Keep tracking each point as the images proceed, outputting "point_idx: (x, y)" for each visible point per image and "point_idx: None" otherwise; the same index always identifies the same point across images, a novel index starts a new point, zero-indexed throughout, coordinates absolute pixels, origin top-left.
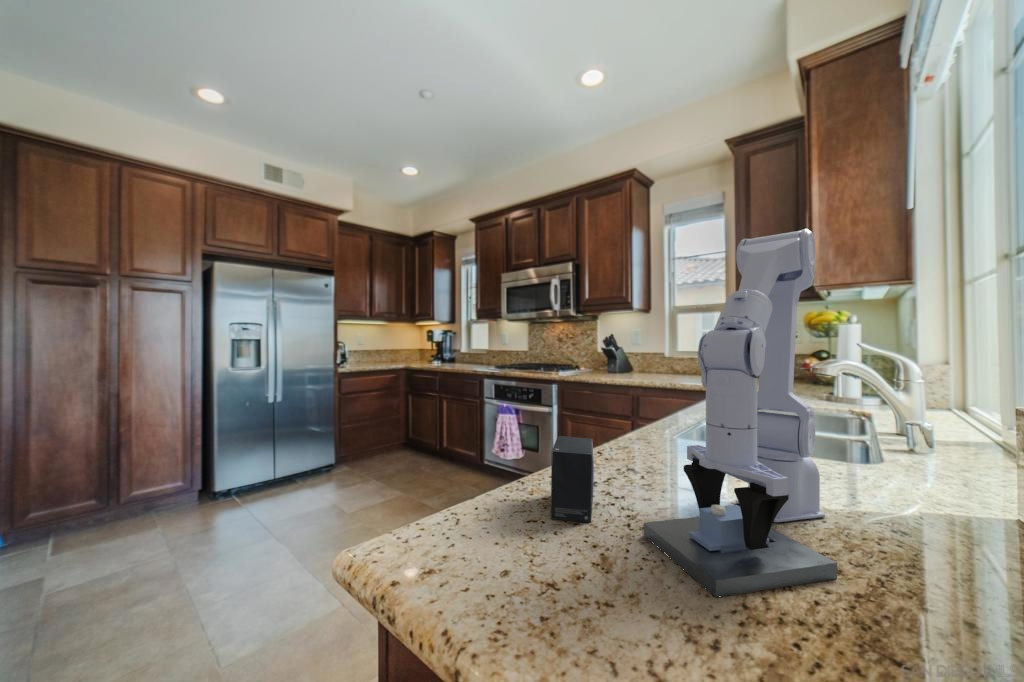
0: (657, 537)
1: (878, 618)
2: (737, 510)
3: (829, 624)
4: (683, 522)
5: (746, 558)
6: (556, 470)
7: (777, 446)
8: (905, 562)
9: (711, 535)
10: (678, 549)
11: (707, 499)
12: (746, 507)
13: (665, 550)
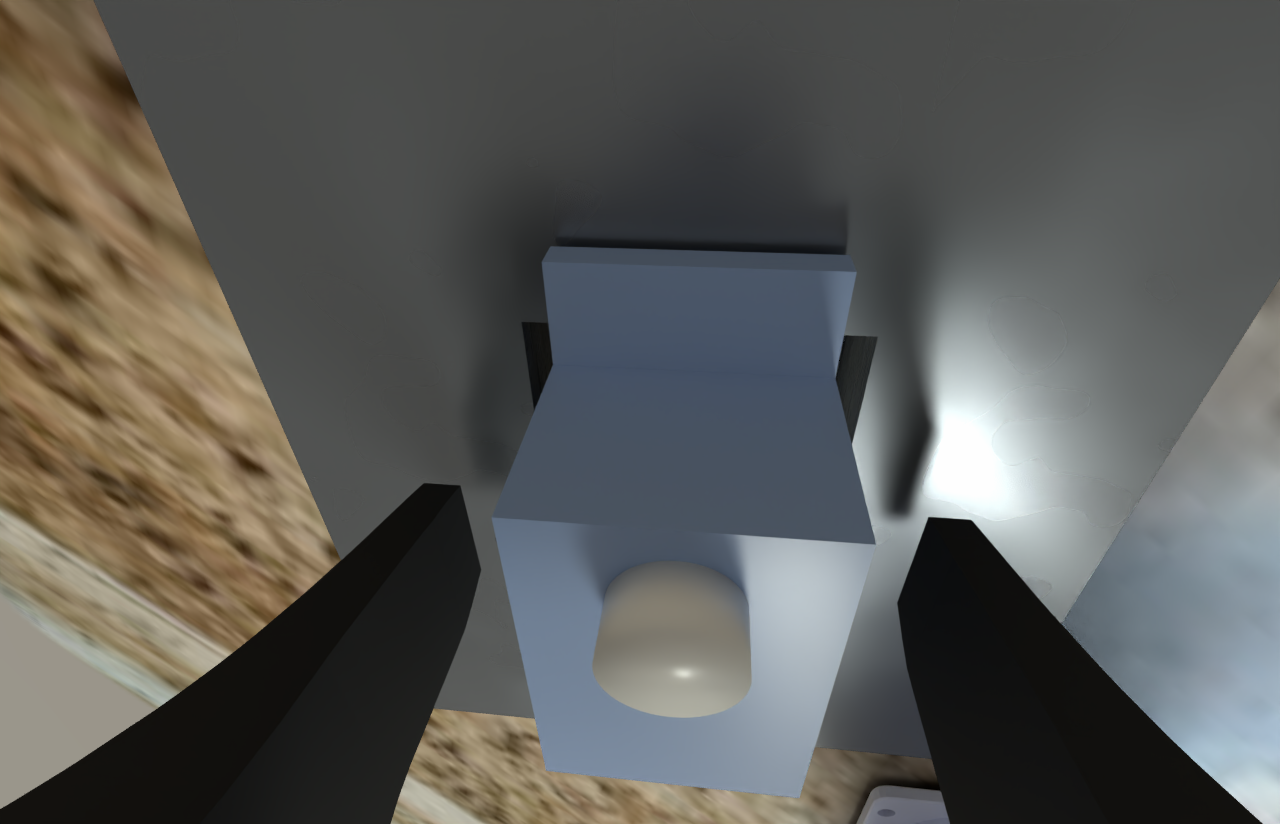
0: None
1: (186, 560)
2: (688, 747)
3: (89, 390)
4: (1111, 397)
5: (448, 423)
6: None
7: None
8: (516, 820)
9: (666, 389)
10: None
11: (993, 729)
12: (72, 815)
13: None
